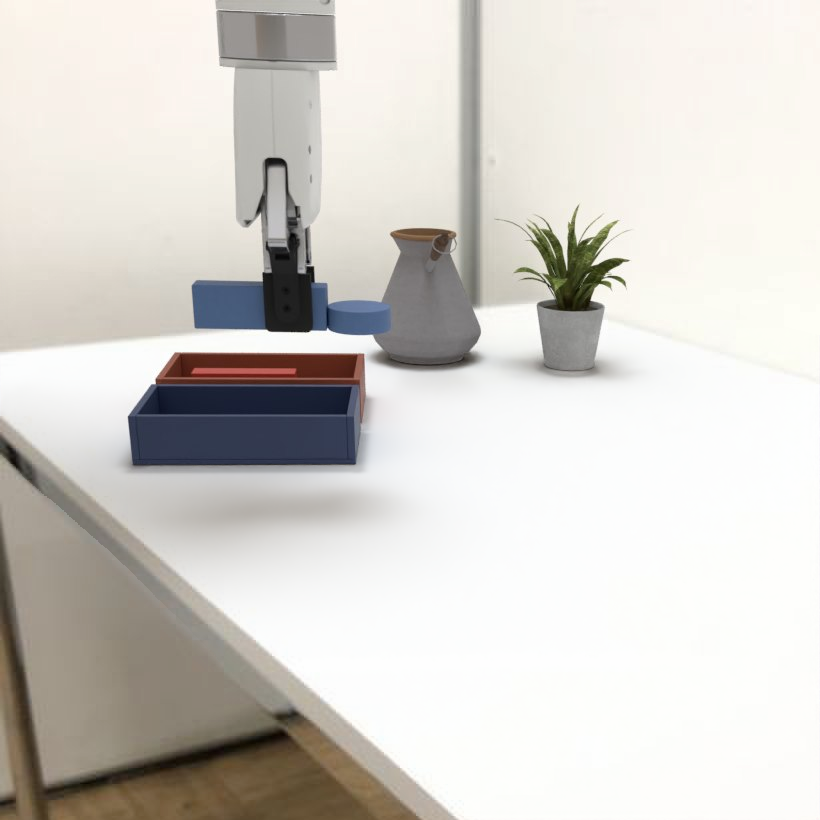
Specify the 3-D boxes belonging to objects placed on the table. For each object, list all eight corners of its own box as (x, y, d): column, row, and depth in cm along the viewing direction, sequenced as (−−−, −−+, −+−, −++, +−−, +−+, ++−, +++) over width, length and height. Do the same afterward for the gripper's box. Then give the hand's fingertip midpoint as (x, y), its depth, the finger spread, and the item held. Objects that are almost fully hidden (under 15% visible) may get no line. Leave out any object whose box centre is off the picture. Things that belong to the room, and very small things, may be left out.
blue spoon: (191, 332, 93) (188, 288, 91) (201, 319, 97) (198, 276, 95) (390, 336, 94) (389, 292, 93) (392, 322, 98) (391, 281, 97)
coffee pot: (367, 345, 147) (362, 202, 142) (472, 343, 150) (472, 203, 144) (386, 395, 128) (381, 232, 123) (506, 392, 131) (507, 232, 125)
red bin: (159, 423, 117) (154, 378, 115) (178, 393, 126) (174, 352, 125) (361, 423, 119) (360, 379, 118) (365, 394, 128) (364, 353, 127)
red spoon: (191, 409, 120) (188, 376, 119) (198, 397, 124) (196, 364, 123) (345, 409, 122) (344, 376, 120) (347, 397, 126) (346, 365, 124)
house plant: (493, 381, 134) (493, 211, 128) (486, 350, 147) (486, 194, 141) (635, 382, 136) (643, 214, 130) (616, 351, 149) (622, 197, 143)
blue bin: (132, 464, 106) (127, 416, 104) (155, 429, 115) (151, 383, 114) (355, 464, 108) (354, 416, 107) (360, 428, 117) (359, 384, 116)
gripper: (235, 40, 95) (251, 304, 102) (198, 44, 80) (220, 352, 88) (344, 44, 96) (352, 306, 103) (327, 49, 81) (338, 353, 89)
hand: (291, 325), depth 95 cm, fingers closed on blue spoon, 2 cm apart
